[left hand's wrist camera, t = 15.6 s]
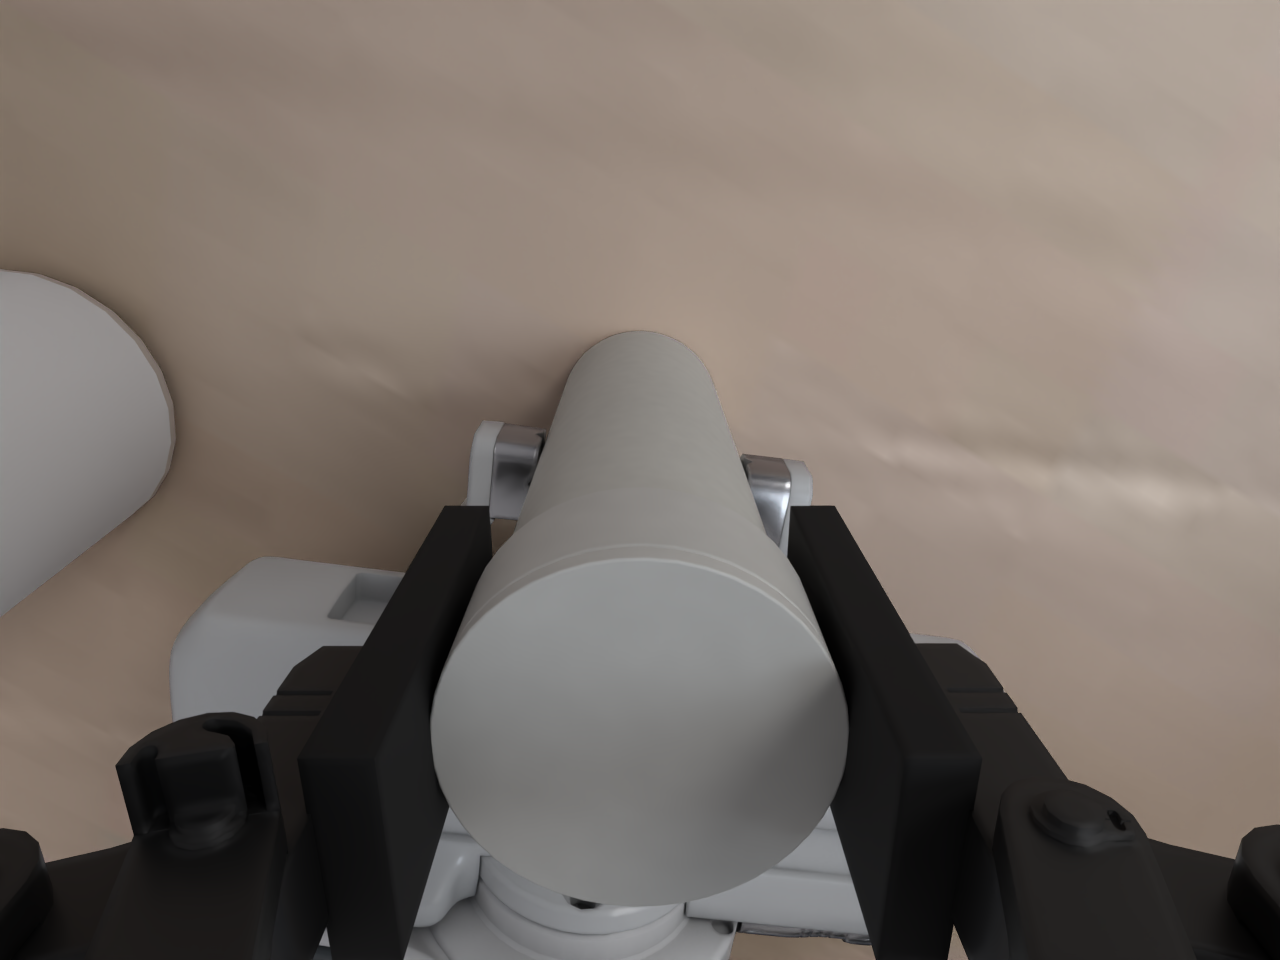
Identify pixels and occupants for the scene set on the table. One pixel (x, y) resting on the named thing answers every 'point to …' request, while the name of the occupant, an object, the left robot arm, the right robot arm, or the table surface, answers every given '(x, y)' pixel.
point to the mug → (71, 428)
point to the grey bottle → (639, 429)
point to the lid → (639, 702)
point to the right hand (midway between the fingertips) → (643, 446)
